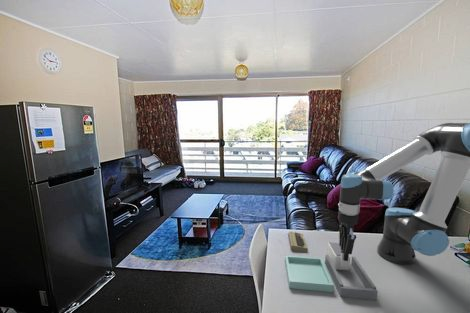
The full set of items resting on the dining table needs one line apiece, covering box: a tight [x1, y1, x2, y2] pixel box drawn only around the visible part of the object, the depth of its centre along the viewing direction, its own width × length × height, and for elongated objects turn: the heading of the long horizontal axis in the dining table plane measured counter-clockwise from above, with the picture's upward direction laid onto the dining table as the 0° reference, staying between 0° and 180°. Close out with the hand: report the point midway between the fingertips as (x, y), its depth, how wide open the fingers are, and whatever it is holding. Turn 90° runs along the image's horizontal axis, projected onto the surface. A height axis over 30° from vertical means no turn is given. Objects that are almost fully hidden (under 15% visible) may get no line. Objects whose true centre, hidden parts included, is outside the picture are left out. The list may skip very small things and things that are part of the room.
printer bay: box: [324, 254, 378, 301], centre depth 96 cm, size 12×21×4 cm, turn 174°
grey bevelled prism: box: [326, 241, 351, 271], centre depth 108 cm, size 6×12×6 cm, turn 175°
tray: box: [284, 255, 335, 293], centre depth 99 cm, size 16×18×3 cm
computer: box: [287, 231, 308, 253], centre depth 125 cm, size 16×8×3 cm, turn 172°
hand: (343, 265), depth 101 cm, fingers closed
